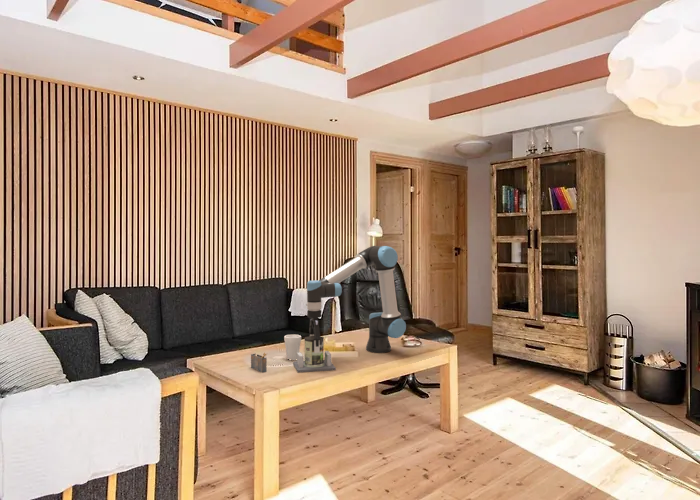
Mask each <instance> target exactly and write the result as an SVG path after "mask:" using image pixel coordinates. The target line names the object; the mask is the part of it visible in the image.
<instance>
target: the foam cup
mask: <svg viewBox="0 0 700 500" xmlns="http://www.w3.org/2000/svg"><path fill="white" fill-rule="evenodd" d="M283 339H284V346H285V353H286V355H285V356H286V359H291V360H294V361H297V360H296V359H297V353H299V352H300V349H301V341H302V336H301V334H300V335H299V334H286V335H284V337H283ZM291 360H290V361H291Z"/></svg>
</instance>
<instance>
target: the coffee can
mask: <svg viewBox="0 0 700 500" xmlns="http://www.w3.org/2000/svg"><path fill="white" fill-rule="evenodd" d="M316 338H317V337H316ZM320 338H321V339H320V352H318V353H314V341H313V339H315V338H314V336H310V335H307V336H305V337H304V361H305V363H304V364H305V365H307V366H321V365H323V364H324V363H323V360H324V346H325V345H324V341H325V338H324V337H323V336H322V335H320Z"/></svg>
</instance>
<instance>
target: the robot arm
mask: <svg viewBox="0 0 700 500" xmlns="http://www.w3.org/2000/svg"><path fill="white" fill-rule="evenodd" d="M398 258H399V257H398V253H397V250H395V248H393V247H392V246H388V245H372V246H368V247H366V248H365V249H363V250H362V251H359V252H358V253H357V254H356V255H355V257H354V258H352V259H350V260H349V261H347V262H346V263H344V264H343V265H341V266H339V267H338V268H336V269H335V270H333V271H332V272H330V273H328V274H327V275H326V276H324V277H322V278H320V279H319V280H316V279H315V280H314V279H313V280H308V281H307V285H306V300H307V302H306V304H305V305H306V308H307V313H306V314H307V318H309V329H308V332H309V336H314V338H315V339H313V341H314V353H318V352H320V339H321V338H320V336H321V332H320V331H321V330H320V320H318V319H319V318H321V317H322V299H324V298H325V299H327V298H335V297H340V296H341V295H342V292H343V291H342V289H343V288H342V285H341V284H340V283H341V282H343V281H345V280H346V279H348V278H349V277H351V276H353V275H354V274H355V273H357V272H358V271H360V270H362V269H366V268H368V267H372V266H374V270H375V272H376V273H377V274H378V281H379V282H378V283H379V289H380V298H381V307H382V311H381V312H372V313H370V314H369V316H368V322H369V323H368V324H369V325H368V339H367V343H366V347H365V350H366V351H368V352H370V353H375V354H377V353H378V354H380V353H381V354H382V353H389V352H391V350H392V348H391V347H392V346H391V342H390V340H389V338H391V339H398V338H400V337H402V336H403V335H404V333H405V332H406V328H407V324H406V321H405V320H404V319H402V314H401V312H400V311H399V310H398V302H397V292H396V287H395V286H396V285H395V278H394V270H395V269H396V265H397V262H398ZM316 337H317V338H316Z"/></svg>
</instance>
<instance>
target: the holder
mask: <svg viewBox="0 0 700 500" xmlns="http://www.w3.org/2000/svg"><path fill="white" fill-rule="evenodd" d="M292 362H293V363H292V364H293V366H294V368H295V371H296V372H297V373H298V374H299V373H314V372H326V371H327V372H328V371H330V372H331V371H336V370H337V368H336V366H335V365H334V364H333V362H332V354H331V352H330V351H329V350H325V351H324V359H323V363H324V364H323V365H321V366H307V365H305V364H304V363H305V360H304V356H303V354H302V352H300V351H299V353H297V360H295V361H292Z"/></svg>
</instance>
